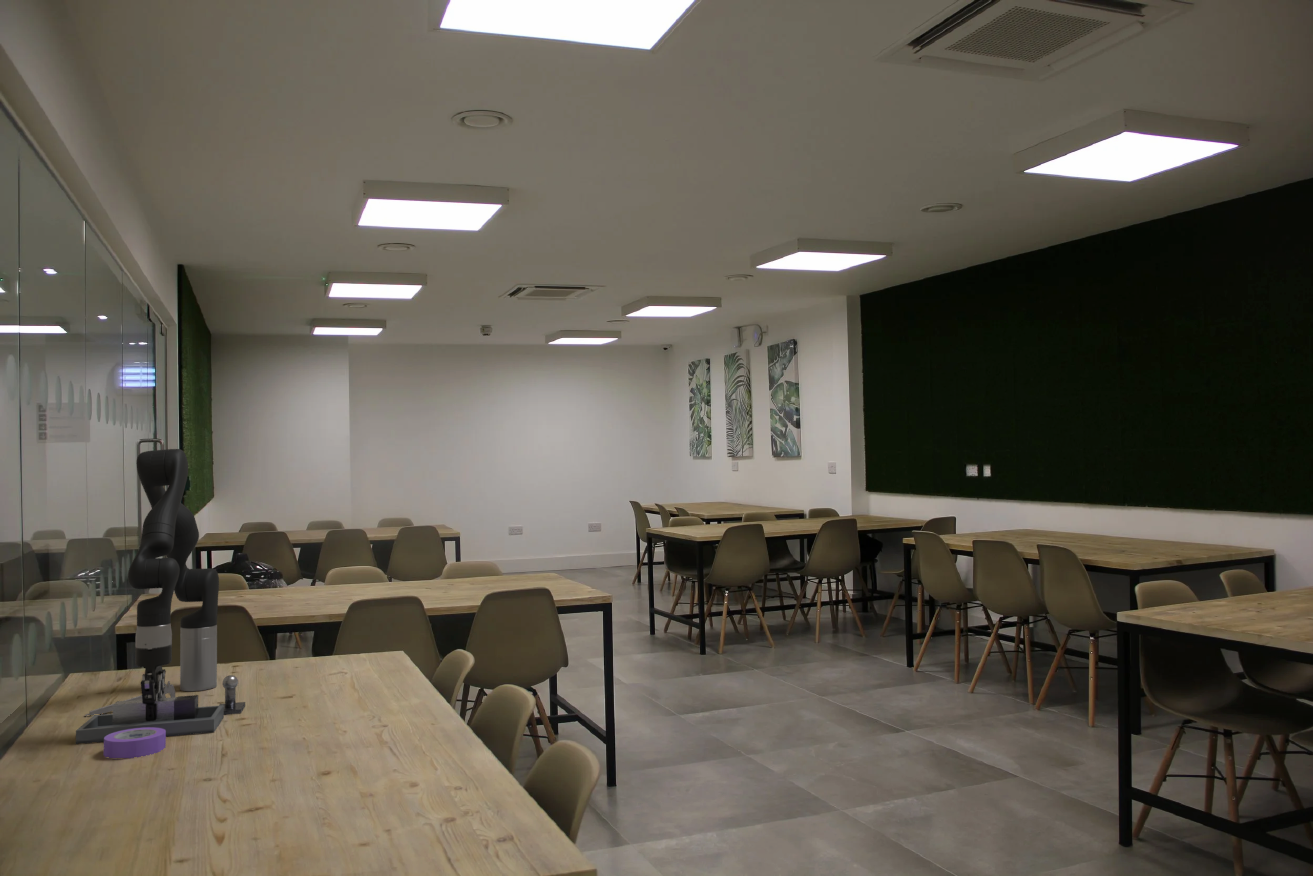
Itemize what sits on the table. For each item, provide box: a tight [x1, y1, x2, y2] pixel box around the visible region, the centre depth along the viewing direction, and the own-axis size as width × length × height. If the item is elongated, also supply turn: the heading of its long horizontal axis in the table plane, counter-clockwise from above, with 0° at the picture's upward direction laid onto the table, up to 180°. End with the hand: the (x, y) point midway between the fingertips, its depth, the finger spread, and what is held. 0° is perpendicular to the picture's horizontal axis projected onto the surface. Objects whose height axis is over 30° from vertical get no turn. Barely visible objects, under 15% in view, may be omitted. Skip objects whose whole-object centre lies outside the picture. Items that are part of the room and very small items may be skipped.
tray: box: [75, 704, 225, 745], centre depth 217 cm, size 14×28×3 cm, turn 107°
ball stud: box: [218, 674, 246, 715], centre depth 235 cm, size 8×6×9 cm
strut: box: [112, 694, 199, 725], centre depth 217 cm, size 4×17×4 cm, turn 107°
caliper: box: [84, 680, 176, 716], centre depth 237 cm, size 20×1×6 cm, turn 129°
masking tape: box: [103, 727, 167, 759], centre depth 201 cm, size 12×12×4 cm
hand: (153, 718), depth 217 cm, fingers closed on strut, 3 cm apart
